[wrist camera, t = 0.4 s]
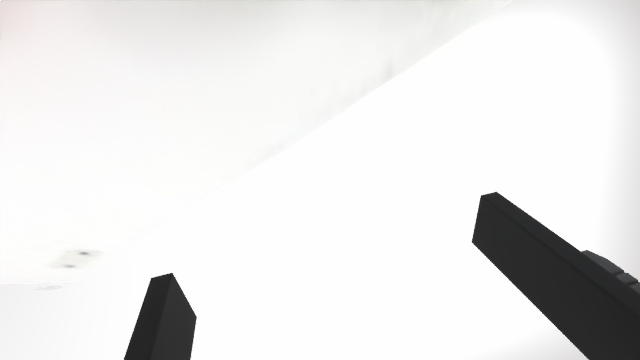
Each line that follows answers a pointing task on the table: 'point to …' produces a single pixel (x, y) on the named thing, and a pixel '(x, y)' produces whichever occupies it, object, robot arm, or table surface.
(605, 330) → the robot arm
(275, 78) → the table surface
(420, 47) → the table surface
